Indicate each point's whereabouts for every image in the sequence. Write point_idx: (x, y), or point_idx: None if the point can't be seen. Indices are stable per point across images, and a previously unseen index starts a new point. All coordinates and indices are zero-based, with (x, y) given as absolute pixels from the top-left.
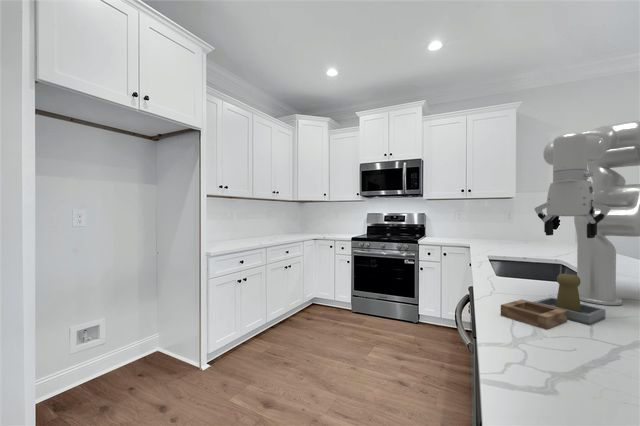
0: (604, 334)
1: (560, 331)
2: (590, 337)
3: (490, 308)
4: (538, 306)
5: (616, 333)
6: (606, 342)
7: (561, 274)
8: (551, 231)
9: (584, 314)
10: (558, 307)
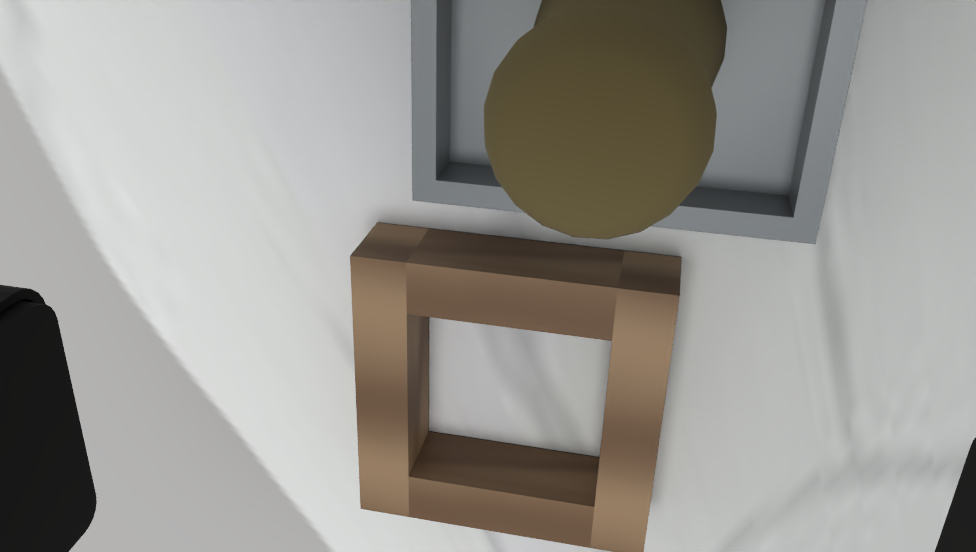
0: (908, 333)
1: (706, 477)
2: (849, 452)
3: (269, 376)
4: (500, 320)
5: (970, 246)
6: (928, 468)
7: (530, 191)
8: (7, 446)
9: (781, 239)
10: None
